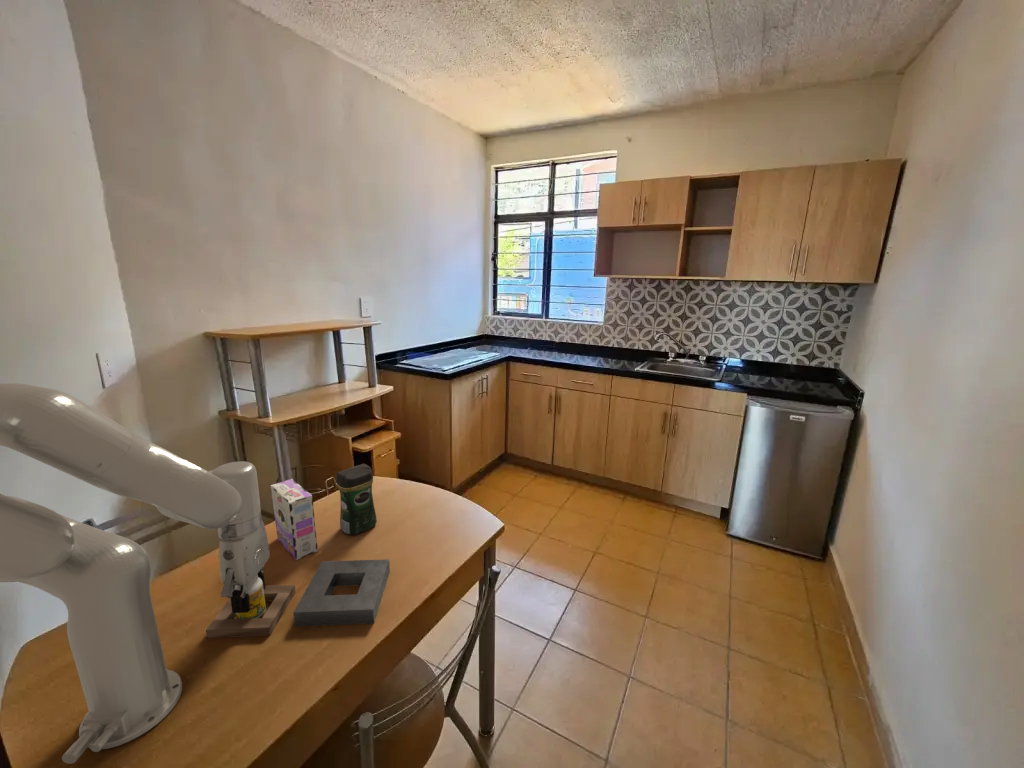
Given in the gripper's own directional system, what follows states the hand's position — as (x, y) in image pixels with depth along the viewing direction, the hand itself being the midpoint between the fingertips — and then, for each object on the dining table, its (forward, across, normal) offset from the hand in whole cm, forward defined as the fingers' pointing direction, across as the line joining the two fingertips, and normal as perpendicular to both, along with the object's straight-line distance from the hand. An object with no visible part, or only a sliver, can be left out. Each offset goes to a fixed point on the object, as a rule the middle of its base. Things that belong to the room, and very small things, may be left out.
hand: (249, 599), depth 87 cm
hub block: (+4, +5, -18) cm, 19 cm away
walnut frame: (+4, +1, 0) cm, 4 cm away
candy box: (+4, +25, +1) cm, 25 cm away
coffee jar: (+3, +33, -13) cm, 35 cm away
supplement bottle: (+4, 0, 0) cm, 4 cm away
